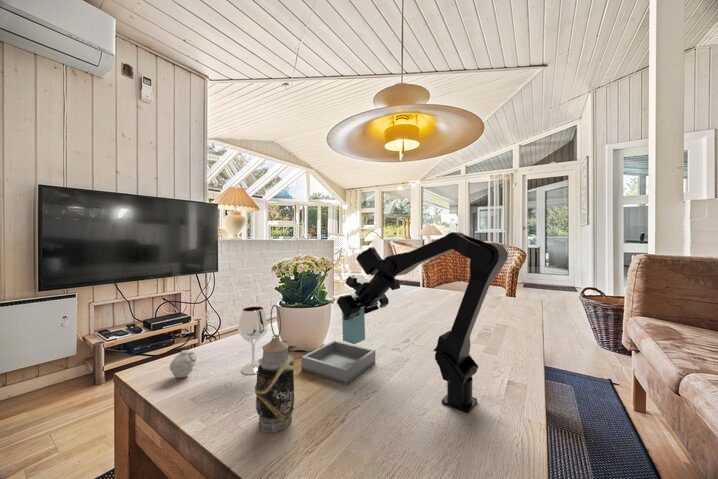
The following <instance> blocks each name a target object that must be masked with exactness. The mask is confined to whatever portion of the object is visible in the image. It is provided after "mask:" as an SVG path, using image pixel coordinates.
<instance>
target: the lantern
mask: <svg viewBox="0 0 718 479" xmlns="http://www.w3.org/2000/svg"><path fill="white" fill-rule="evenodd" d="M274 307H275V308H276V309H277V310H276V311H277V312H278V318H279V331H278V334H276V333H275V331H274V328H273V318H272V317H273V316H272V315H273V309H274ZM270 327H271V332H272V334H273V336H272V337H271V340H270V341H269V342H268V343H266V344H264V345H262V347H261V349H262V350H263V352H262V356H261V358H259V359H258V361H257V362H258V364H260V366H259V367H258V370H257V374H256V383H255V386H254V393H255V395H256V396H255V397H256V398H255V399H256V400H255V409H256V412H257V414H258V416H259V417H258V424H259V426H260V428H261V431H262V432H267V433H272V432H273V433H276V432H278V430H279V431H282V430H285V429H287V428H288V427H289V426H290V425H291V422H292V421H293V419H292V418H293V416H292V415H293V412H294V410H295V407H294V406H295V379H294V378H295V375H294V374H295V373H294V372H295V371H294V369H295V366H296V363H295V362H296V360H295V359H294V357H293V356H292V354H289V351H288V349H289V348H290V347H289V346H288V344H286V343H284V341H283V340H281V339H280V336H281V331H282V318H281V313H280V310H279V307H278V305H276V304H273V305H272V307H271V309H270Z"/></svg>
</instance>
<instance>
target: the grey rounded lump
mask: <svg viewBox="0 0 718 479" xmlns="http://www.w3.org/2000/svg"><path fill="white" fill-rule="evenodd" d="M196 361H197V353H196V352H195V351H192V350H189V349H188V350H187V349H185V350H184V349H183V350H181V351H180V353H178V354H177V355H176V356H174V358H173V360H172V361H171V362H170V365H169V370H170V372H171V373H172V375H173V376H174V377H175V378H177V379H183V378H185V377H187V376H188V375H190V374H191V372H192V371H193V369H194V366H195V364H196Z"/></svg>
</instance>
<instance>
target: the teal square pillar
mask: <svg viewBox="0 0 718 479" xmlns="http://www.w3.org/2000/svg"><path fill="white" fill-rule="evenodd" d="M349 295H351V296H352V297H353V299H354V300H355V301H356V299H355V298H357V297H358V296H356V294H355V293H351V294H349ZM359 314H360V315H358V316H356V317H353V318H350V319H348V320H344V318H343V317H344V314H343V312H342V311H341V315H342V316H341V321H342V323H341V324H342V325H341V326H342V341H343V342H344V343H348V344H351V345H356V344H358V343H361V342H364V341H365V340H366V328H365V327H366V326H365V325H366V324H365V323H366V322H365V314H364V307H363V308H361V310H360V311H359Z"/></svg>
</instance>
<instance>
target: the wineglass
mask: <svg viewBox="0 0 718 479" xmlns="http://www.w3.org/2000/svg"><path fill="white" fill-rule="evenodd" d="M268 327H269V326H268V319H267V316H266V313H265V309H264V307H262V306H248V307H245V308H243V309H242V312H241V314H240V319H239V323H238V328H237V331H238V334H239V335H240V337H241V338H242V339H243V340H245V341H246V342H248V344H250V346H251V364H249V365H248V364H247V365H246V366H243V368H241V373H242V374H243V375H247V376H248V375H257V370H258V367H259V366H260V363H256V362H255V361H256V360H255V359H256V358H255V357H256V356H255V355H256V354H255V352H256V351H255V350H256V349H255V348H256V347H255V346H256V344H257V343H258V342H259V341H260V340H261V339H262V338H263V337H264V336H265V334H267V332H268V330H269V329H268Z"/></svg>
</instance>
